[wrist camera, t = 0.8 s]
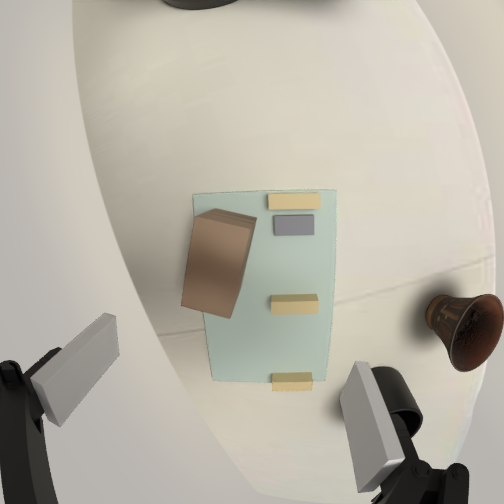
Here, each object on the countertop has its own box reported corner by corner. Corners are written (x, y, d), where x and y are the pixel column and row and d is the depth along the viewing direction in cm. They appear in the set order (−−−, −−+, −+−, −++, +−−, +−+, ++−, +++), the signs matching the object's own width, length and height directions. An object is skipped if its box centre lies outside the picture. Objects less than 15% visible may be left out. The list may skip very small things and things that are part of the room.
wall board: (195, 194, 30) (187, 195, 27) (334, 190, 29) (340, 190, 26) (214, 376, 36) (209, 389, 33) (324, 376, 34) (327, 390, 31)
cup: (468, 265, 29) (514, 290, 19) (462, 323, 31) (498, 358, 21) (416, 277, 30) (459, 310, 20) (413, 338, 32) (444, 382, 22)
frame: (213, 207, 29) (193, 216, 22) (257, 217, 29) (250, 229, 22) (200, 277, 31) (179, 305, 24) (241, 288, 31) (230, 319, 24)
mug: (342, 426, 37) (350, 469, 28) (341, 374, 34) (354, 420, 25) (397, 413, 35) (412, 452, 27) (405, 358, 33) (429, 399, 24)
